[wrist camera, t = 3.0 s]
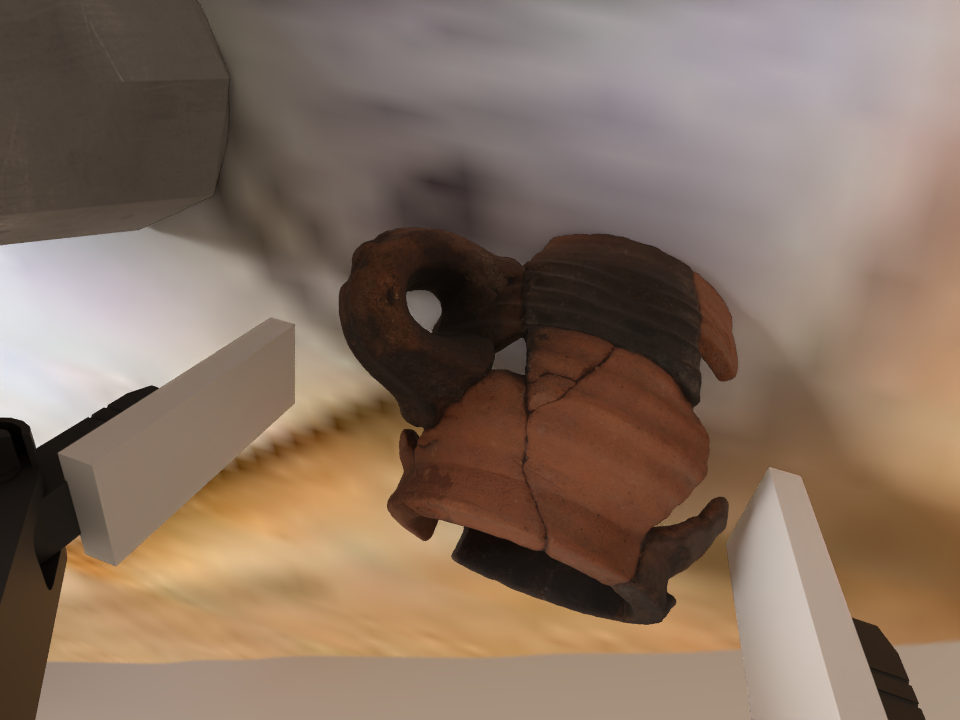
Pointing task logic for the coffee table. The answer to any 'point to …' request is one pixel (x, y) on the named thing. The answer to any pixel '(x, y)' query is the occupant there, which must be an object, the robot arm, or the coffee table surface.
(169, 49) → the coffeepot
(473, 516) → the pottery mug
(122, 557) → the robot arm
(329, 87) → the coffee table surface
